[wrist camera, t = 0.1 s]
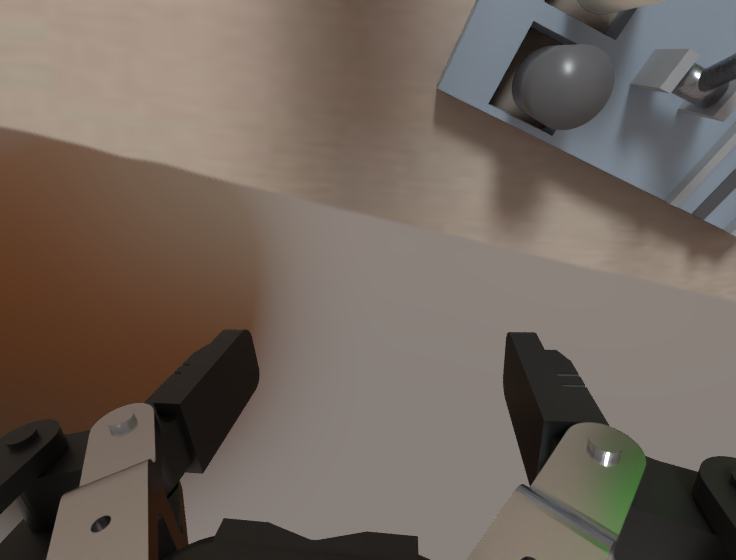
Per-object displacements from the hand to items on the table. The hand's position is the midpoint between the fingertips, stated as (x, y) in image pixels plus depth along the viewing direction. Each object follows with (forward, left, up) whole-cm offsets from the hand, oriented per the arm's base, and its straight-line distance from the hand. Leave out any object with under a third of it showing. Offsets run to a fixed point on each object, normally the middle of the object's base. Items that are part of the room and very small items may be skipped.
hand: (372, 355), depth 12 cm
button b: (-9, +6, -20) cm, 22 cm away
